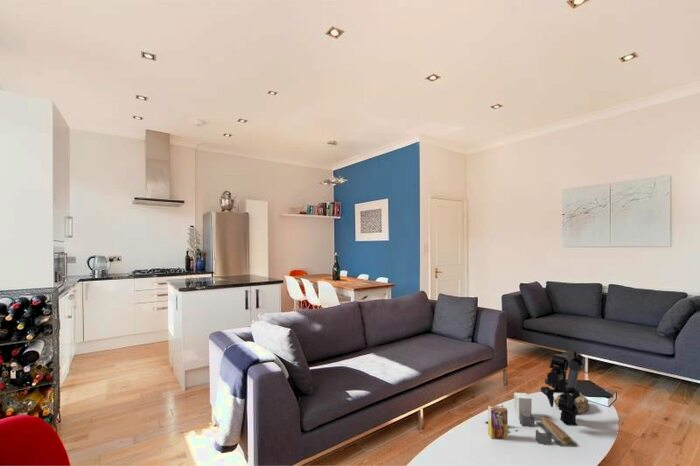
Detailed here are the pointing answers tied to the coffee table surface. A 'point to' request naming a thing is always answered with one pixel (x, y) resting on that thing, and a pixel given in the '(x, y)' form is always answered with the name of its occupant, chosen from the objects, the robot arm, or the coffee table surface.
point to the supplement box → (522, 405)
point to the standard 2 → (544, 437)
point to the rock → (577, 403)
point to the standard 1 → (527, 420)
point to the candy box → (497, 422)
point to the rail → (556, 431)
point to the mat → (556, 437)
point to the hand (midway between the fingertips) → (560, 407)
